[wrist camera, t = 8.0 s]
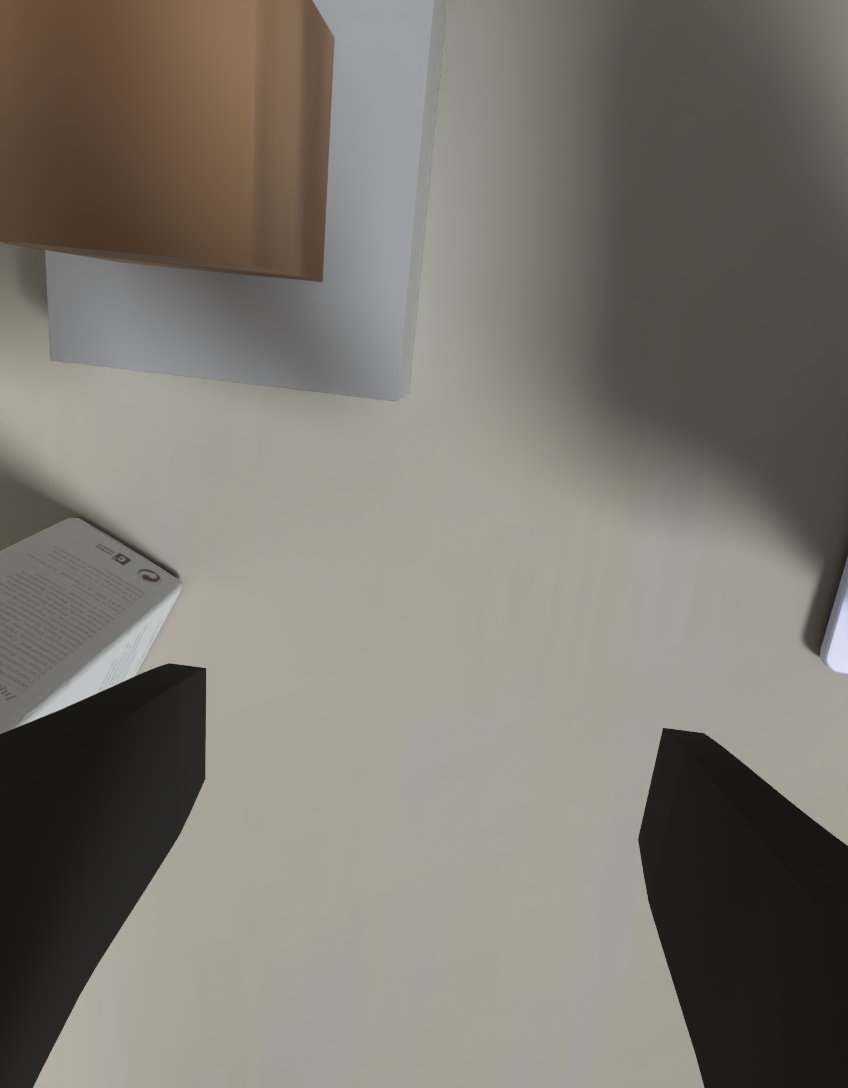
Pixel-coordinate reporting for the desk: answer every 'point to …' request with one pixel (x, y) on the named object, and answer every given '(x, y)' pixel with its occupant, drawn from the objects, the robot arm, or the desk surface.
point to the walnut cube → (167, 132)
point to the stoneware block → (349, 251)
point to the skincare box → (74, 618)
